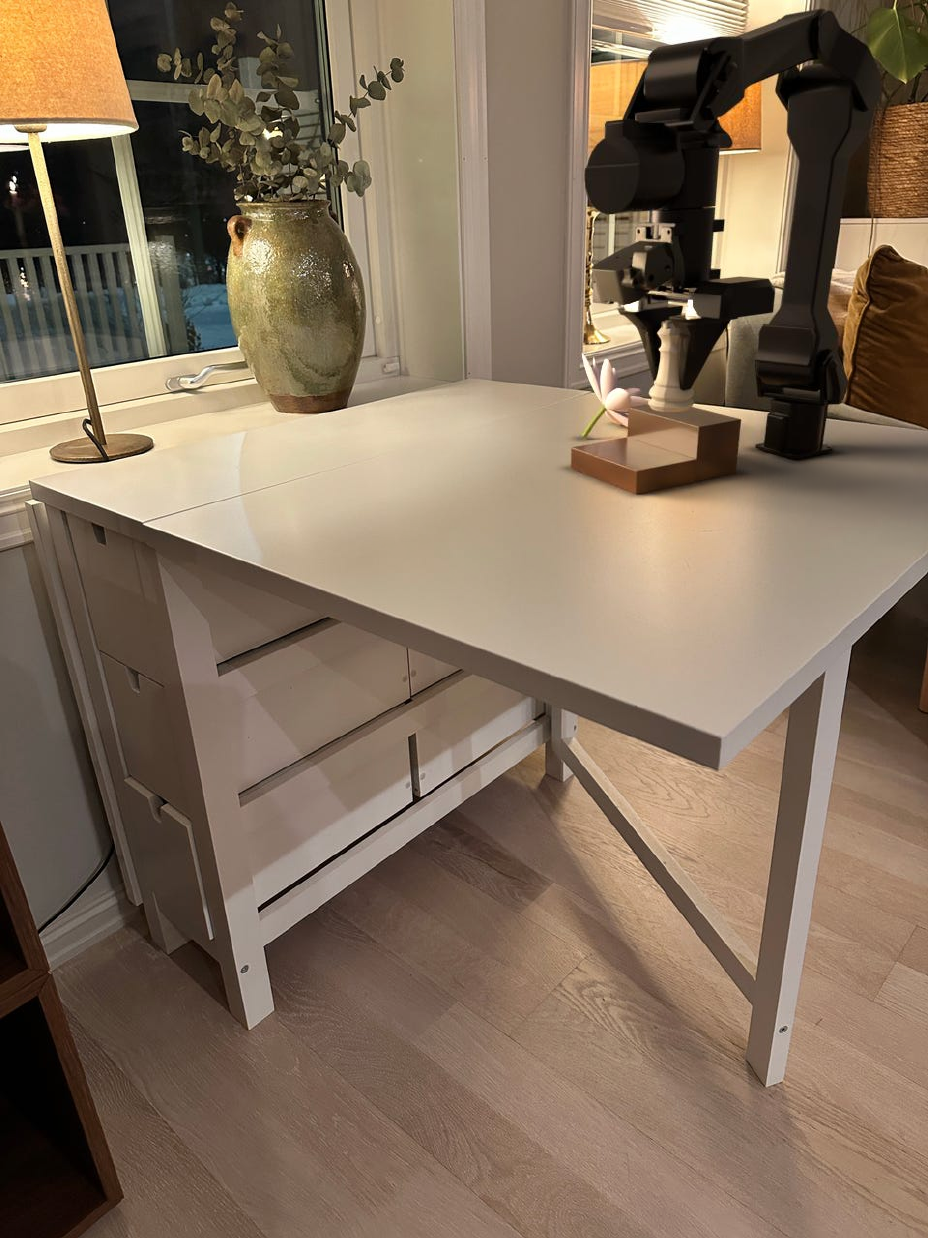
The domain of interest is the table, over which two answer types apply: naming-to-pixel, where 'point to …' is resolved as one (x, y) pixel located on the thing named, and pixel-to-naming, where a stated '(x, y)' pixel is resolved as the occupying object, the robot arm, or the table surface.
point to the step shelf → (663, 450)
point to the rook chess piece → (669, 375)
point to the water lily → (611, 394)
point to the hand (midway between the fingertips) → (671, 386)
